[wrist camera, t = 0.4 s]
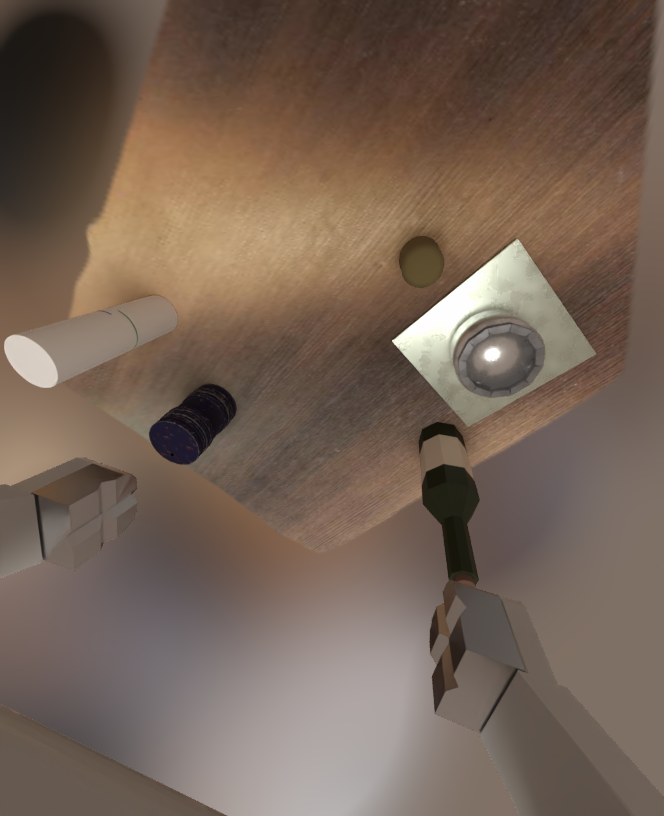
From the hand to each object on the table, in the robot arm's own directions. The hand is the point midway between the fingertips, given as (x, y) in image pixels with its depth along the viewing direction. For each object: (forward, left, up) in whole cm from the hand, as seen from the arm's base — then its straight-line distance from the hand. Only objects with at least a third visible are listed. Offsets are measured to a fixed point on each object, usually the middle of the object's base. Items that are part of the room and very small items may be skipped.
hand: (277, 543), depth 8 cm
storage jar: (+44, -5, -50) cm, 67 cm away
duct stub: (-5, +20, -50) cm, 54 cm away
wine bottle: (+12, +31, -50) cm, 60 cm away
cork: (-5, +2, -50) cm, 50 cm away
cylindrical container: (+36, -24, -50) cm, 66 cm away
